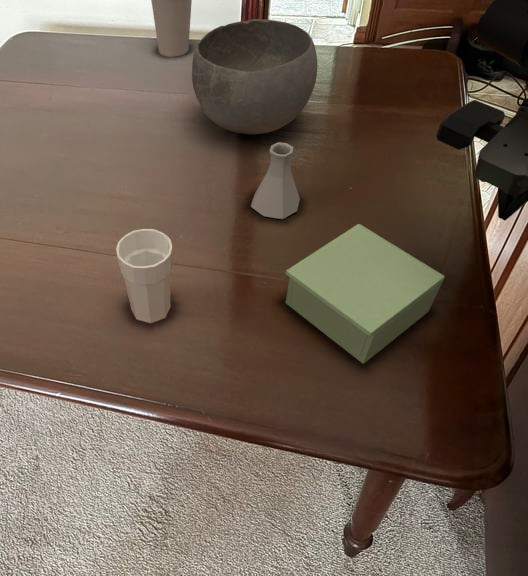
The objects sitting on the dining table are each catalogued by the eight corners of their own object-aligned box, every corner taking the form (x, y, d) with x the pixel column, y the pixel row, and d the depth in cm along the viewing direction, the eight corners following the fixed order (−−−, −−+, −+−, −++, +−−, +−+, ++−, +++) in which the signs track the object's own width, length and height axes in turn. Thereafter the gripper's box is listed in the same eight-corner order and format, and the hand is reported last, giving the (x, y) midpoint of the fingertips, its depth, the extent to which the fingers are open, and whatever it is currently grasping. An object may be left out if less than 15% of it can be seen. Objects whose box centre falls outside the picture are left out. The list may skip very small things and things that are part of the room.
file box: (363, 364, 66) (374, 335, 62) (285, 303, 73) (290, 273, 69) (428, 311, 71) (443, 280, 66) (349, 258, 78) (357, 227, 74)
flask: (285, 226, 83) (293, 170, 76) (242, 209, 86) (245, 154, 79) (307, 199, 87) (317, 143, 79) (265, 183, 90) (271, 129, 82)
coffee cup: (204, 46, 123) (204, -28, 112) (176, 64, 118) (173, -12, 107) (170, 36, 127) (167, -37, 116) (142, 52, 123) (136, -21, 112)
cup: (115, 309, 75) (104, 249, 67) (150, 281, 78) (144, 221, 70) (150, 335, 72) (143, 277, 63) (186, 306, 74) (183, 245, 66)
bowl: (289, 86, 109) (299, 6, 98) (324, 146, 95) (340, 60, 84) (184, 101, 109) (182, 21, 97) (204, 163, 95) (204, 78, 84)
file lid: (369, 337, 61) (371, 333, 61) (285, 274, 69) (286, 270, 68) (443, 280, 66) (445, 276, 66) (357, 227, 73) (358, 223, 73)
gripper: (426, 84, 55) (387, 208, 66) (638, 170, 44) (547, 300, 56) (493, 45, 59) (445, 169, 70) (702, 116, 48) (605, 248, 59)
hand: (503, 217), depth 64 cm, fingers closed
